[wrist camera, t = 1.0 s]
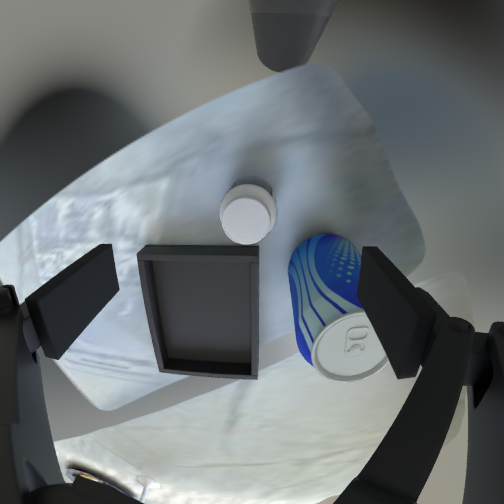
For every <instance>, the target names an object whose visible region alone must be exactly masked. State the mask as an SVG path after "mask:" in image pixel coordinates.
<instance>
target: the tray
mask: <svg viewBox="0 0 504 504" xmlns="http://www.w3.org/2000/svg"><path fill="white" fill-rule="evenodd" d="M137 261H138V268H139V274H140V280H141V286H142V292H143V298H144V303H145V309H146V314H147V319H148V324H149V329H150V333H151V338H152V343H153V347H154V351H155V356H156V360H157V364H158V368H159V372H162V373H171V374H180V375H190V376H202V377H215V378H231V379H256V380H257V379H258V363H259V357H258V355H259V246H193V245H146V246H145V247H144V248H142V249H141V250H140V251H139V252H138V253H137Z"/></svg>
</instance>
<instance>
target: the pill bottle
mask: <svg viewBox="0 0 504 504" xmlns="http://www.w3.org/2000/svg"><path fill="white" fill-rule="evenodd" d="M219 216H220V221H221V223H222V227H223V230H224V232H225V233H226V235H227V236H228V237H229V238H230V239H231V240H233V241H234V242H236V243H239V244H244V245H249V244H254V243H257V242H258V241H260V240H262V239H263V238H264V237H265V236H266V235H267V234H268V233H269V232H270V231H271V230H272V228H273V227H274V225H275V222H276V219H277V207H276V198H275V193H274V191H273V189H272V187H271V186H270V185H269V184H268V183H267V182H266V181H264V180H263V179H260V178H257V177H245V178H242V179H240V180H238V181H237V182H236V183H234V184H233V185H232V187H231V188H230V189H229V190H228V192H227V193H226V194H225V196H224V197H223V199H222V201H221V204H220V208H219Z"/></svg>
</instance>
